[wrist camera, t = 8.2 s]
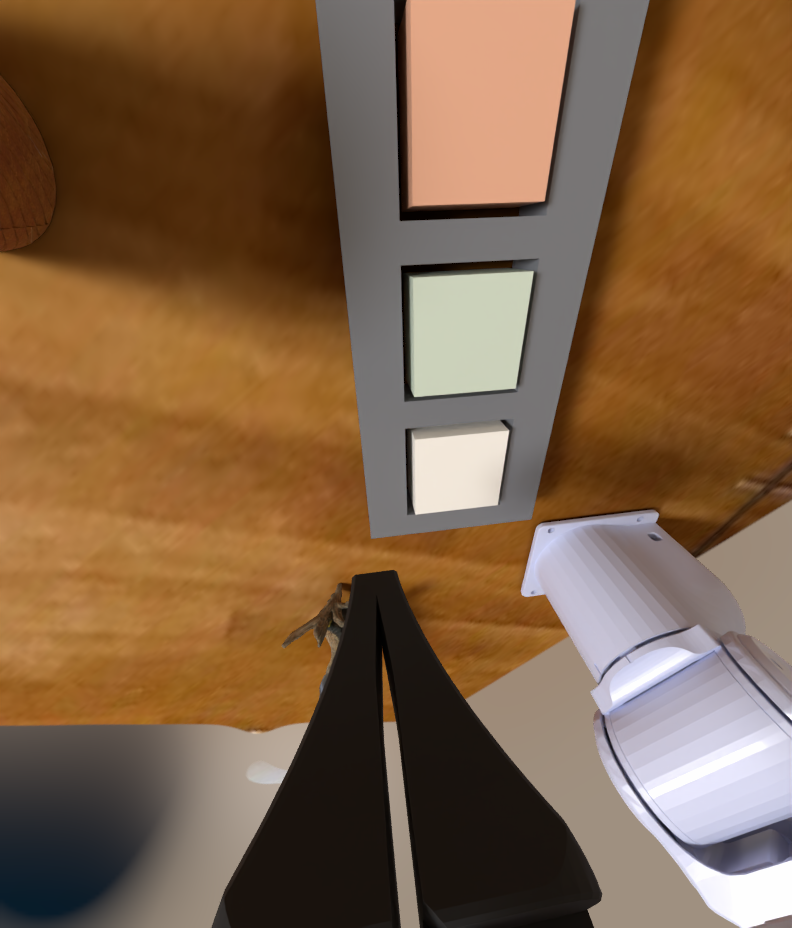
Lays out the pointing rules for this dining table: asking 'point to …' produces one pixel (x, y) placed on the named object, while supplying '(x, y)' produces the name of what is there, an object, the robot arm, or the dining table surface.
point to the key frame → (465, 248)
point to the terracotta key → (479, 100)
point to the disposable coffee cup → (22, 175)
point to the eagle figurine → (325, 626)
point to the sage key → (464, 329)
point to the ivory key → (455, 465)
